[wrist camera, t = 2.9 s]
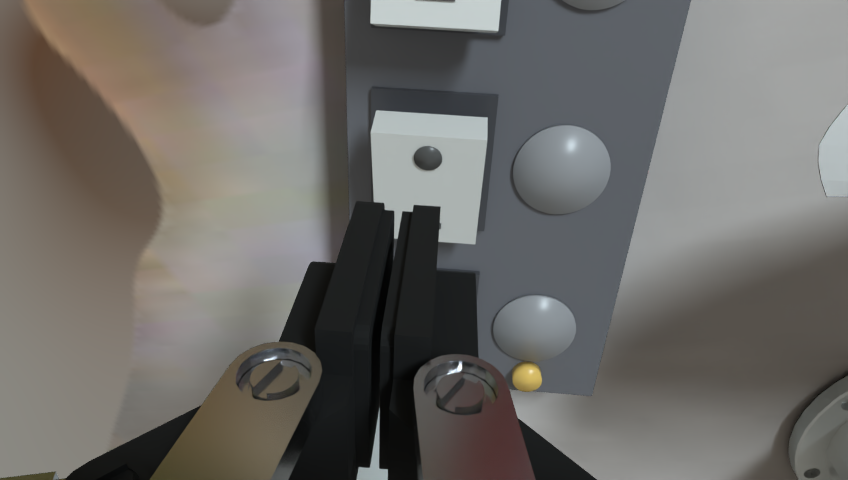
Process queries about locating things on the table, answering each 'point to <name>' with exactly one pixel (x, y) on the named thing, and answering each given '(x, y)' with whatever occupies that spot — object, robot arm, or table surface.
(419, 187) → the rocker
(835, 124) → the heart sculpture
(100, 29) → the table surface
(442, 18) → the rocker
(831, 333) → the table surface
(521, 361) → the rocker switch panel
